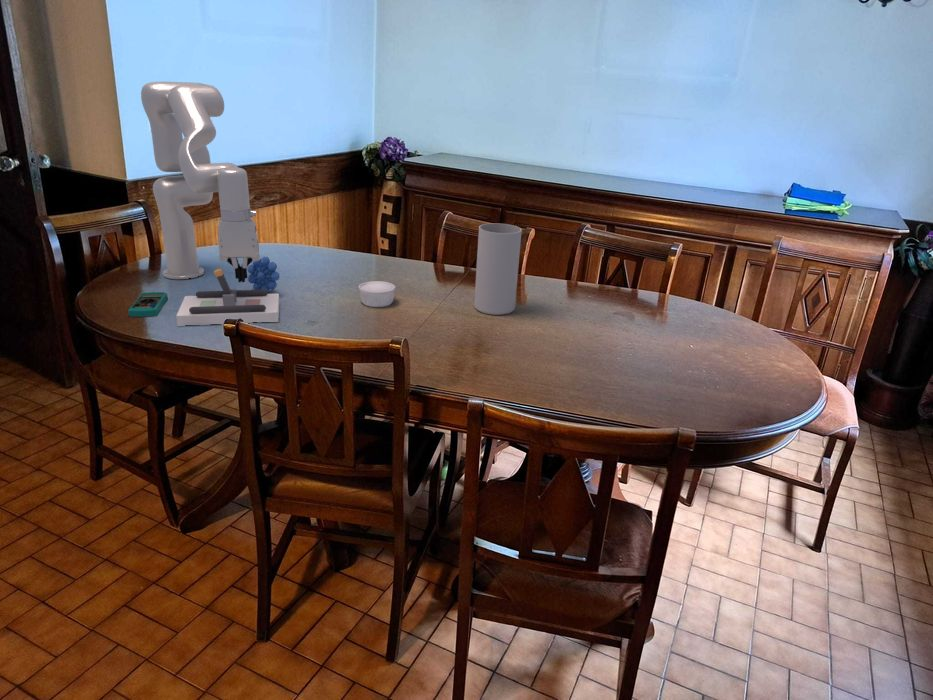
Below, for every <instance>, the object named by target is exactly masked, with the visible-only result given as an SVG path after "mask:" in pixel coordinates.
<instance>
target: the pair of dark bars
mask: <svg viewBox="0 0 933 700" xmlns="http://www.w3.org/2000/svg"><path fill="white" fill-rule="evenodd" d="M267 294H269V292H267V290H254V289H241V290H240V289H238V290H236V297H237V296H266V295H267ZM223 295H224V292H223V290H200V291H196V292H195V296H197V297H198V298H201V297H223ZM265 310H266V307H265V305H237V306H205V307H191V308H190V309H189V312H190V313H192V314H195V313H225V312H255V311H265Z"/></svg>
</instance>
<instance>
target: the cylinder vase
mask: <svg viewBox="0 0 933 700" xmlns="http://www.w3.org/2000/svg"><path fill="white" fill-rule="evenodd" d="M522 231H523V229H522V228H521V227H520V226H517V225H512V224H509V223H508V224H507V223H496V222H495V223H491V222H490V223H484V224H481V225H479V226H478V237H477V254H476V257H477V258H476V271H475V273H476V274H475V288H474V304H473V306H474V308H475V309H476V310H477V311H478V312H480V313H483V314H487V315H493V316H501V315H502V316H503V315H508V314H510V313H512V312H514V311H515V310H516V309H515V308H516V299H517V289H518V288H517V287H518V276H519V267H520V266H519V264H520V253H521V252H520V251H521V242H522Z"/></svg>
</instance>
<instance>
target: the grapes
mask: <svg viewBox="0 0 933 700" xmlns="http://www.w3.org/2000/svg"><path fill="white" fill-rule="evenodd" d="M270 259H271V258H270V257H268V256H262V257H261V258H260V260H258V261H254V262H252V264H249V265H248V266H247V273H249V275H248V276H247V281H248V282H249V283H250V284H252V290H267V292H268V293H269V292H270V290H272V291H273V290H275V289H276V288H277V285H278V284H277V281H279V278H280V273H279V272H278V271H277V263H276V262H274V261H271V260H270Z"/></svg>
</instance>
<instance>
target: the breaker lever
mask: <svg viewBox="0 0 933 700" xmlns="http://www.w3.org/2000/svg"><path fill="white" fill-rule="evenodd" d="M213 273H214V275H215V278H216V279H217V281H218V283H219V286H220V288H221V291H223V292H224V295H226V294H234V293H233V292H231V290H230V289H231V288H230V286H229V284H228V282H227V279H226V277H225V275H224V271H223V269H222V268H217V269H214V272H213ZM234 296H235V295H234Z"/></svg>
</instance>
